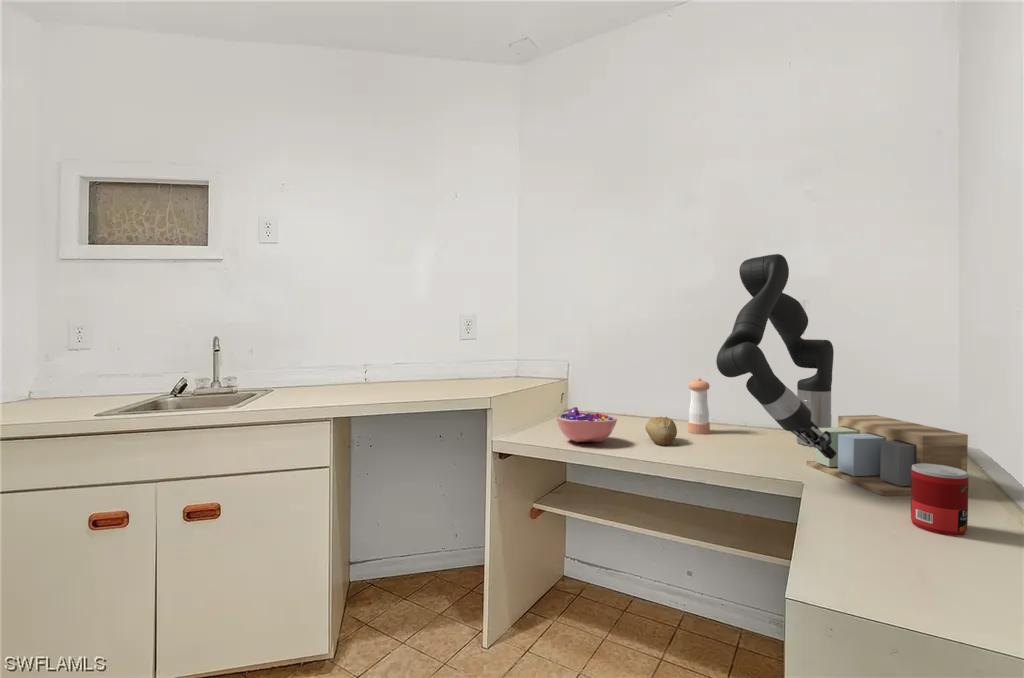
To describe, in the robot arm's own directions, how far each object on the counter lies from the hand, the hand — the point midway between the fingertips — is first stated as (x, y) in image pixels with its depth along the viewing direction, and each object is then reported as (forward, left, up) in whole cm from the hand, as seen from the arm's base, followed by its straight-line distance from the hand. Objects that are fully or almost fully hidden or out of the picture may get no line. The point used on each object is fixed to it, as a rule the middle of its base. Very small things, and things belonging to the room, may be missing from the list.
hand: (831, 455), depth 121 cm
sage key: (-11, -3, -4) cm, 12 cm away
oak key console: (-11, +5, -6) cm, 14 cm away
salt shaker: (-18, -53, -6) cm, 56 cm away
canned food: (+14, +26, -6) cm, 30 cm away
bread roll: (+4, -50, -6) cm, 51 cm away
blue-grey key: (-8, +4, -4) cm, 10 cm away
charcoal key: (-8, +13, -4) cm, 16 cm away
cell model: (+26, -62, -6) cm, 68 cm away
